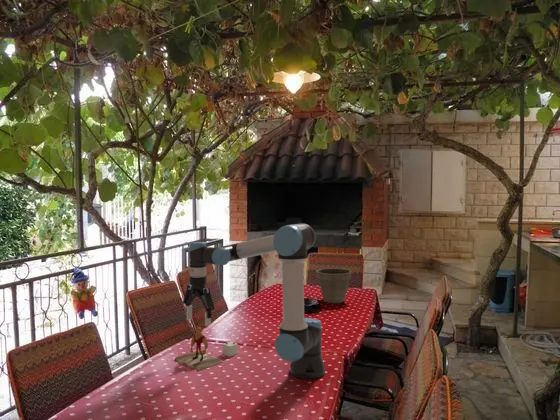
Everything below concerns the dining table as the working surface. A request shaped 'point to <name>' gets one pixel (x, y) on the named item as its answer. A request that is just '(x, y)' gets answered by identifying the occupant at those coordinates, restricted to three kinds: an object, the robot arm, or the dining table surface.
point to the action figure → (199, 343)
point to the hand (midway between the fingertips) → (198, 322)
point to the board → (198, 360)
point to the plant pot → (334, 284)
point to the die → (230, 349)
